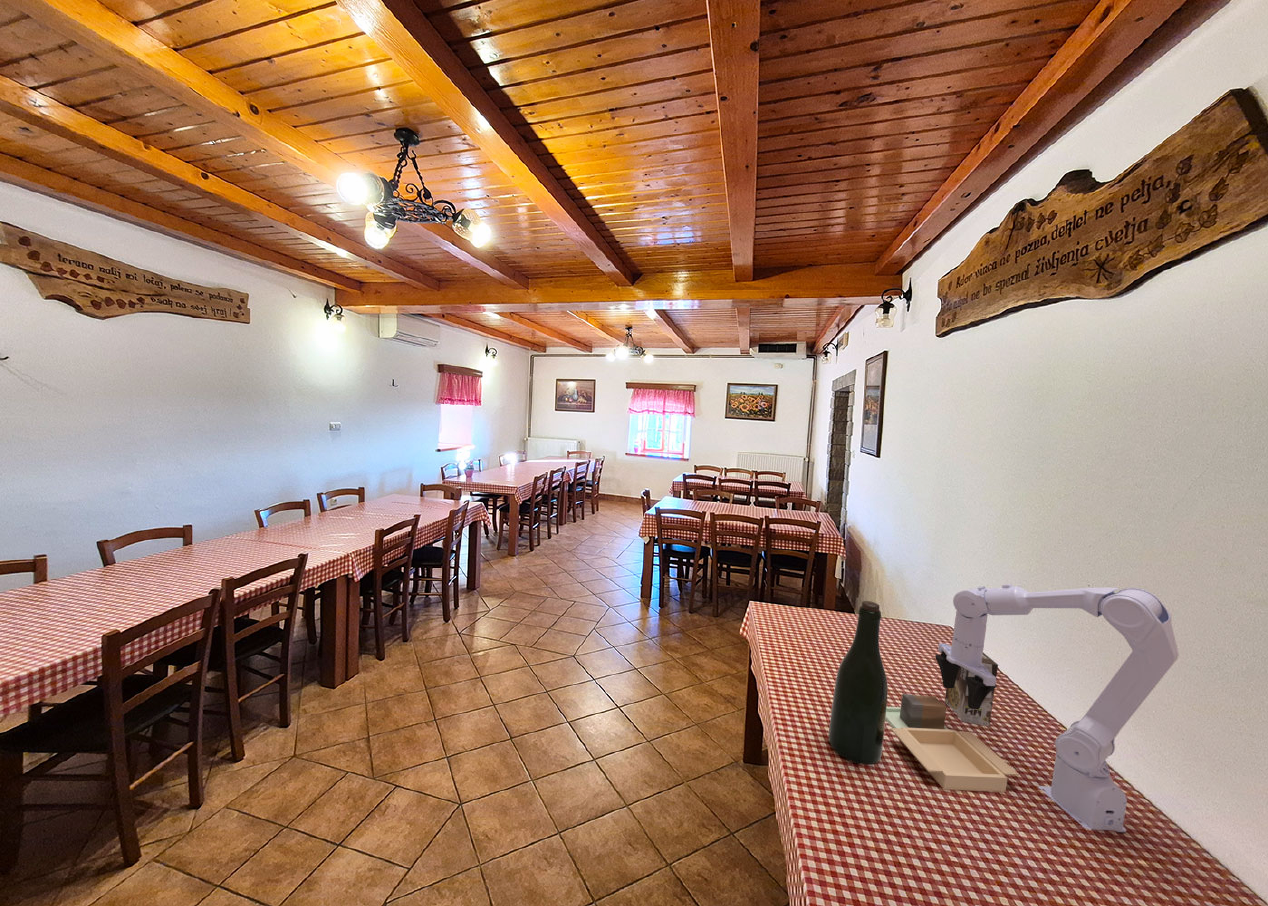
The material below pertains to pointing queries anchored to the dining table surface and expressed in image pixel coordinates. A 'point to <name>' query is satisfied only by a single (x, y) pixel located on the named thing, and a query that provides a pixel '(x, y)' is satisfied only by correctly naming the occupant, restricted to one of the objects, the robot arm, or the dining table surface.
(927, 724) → the walnut block
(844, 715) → the beer bottle
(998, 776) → the carton
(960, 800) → the dining table surface
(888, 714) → the green tray
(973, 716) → the coffee box
